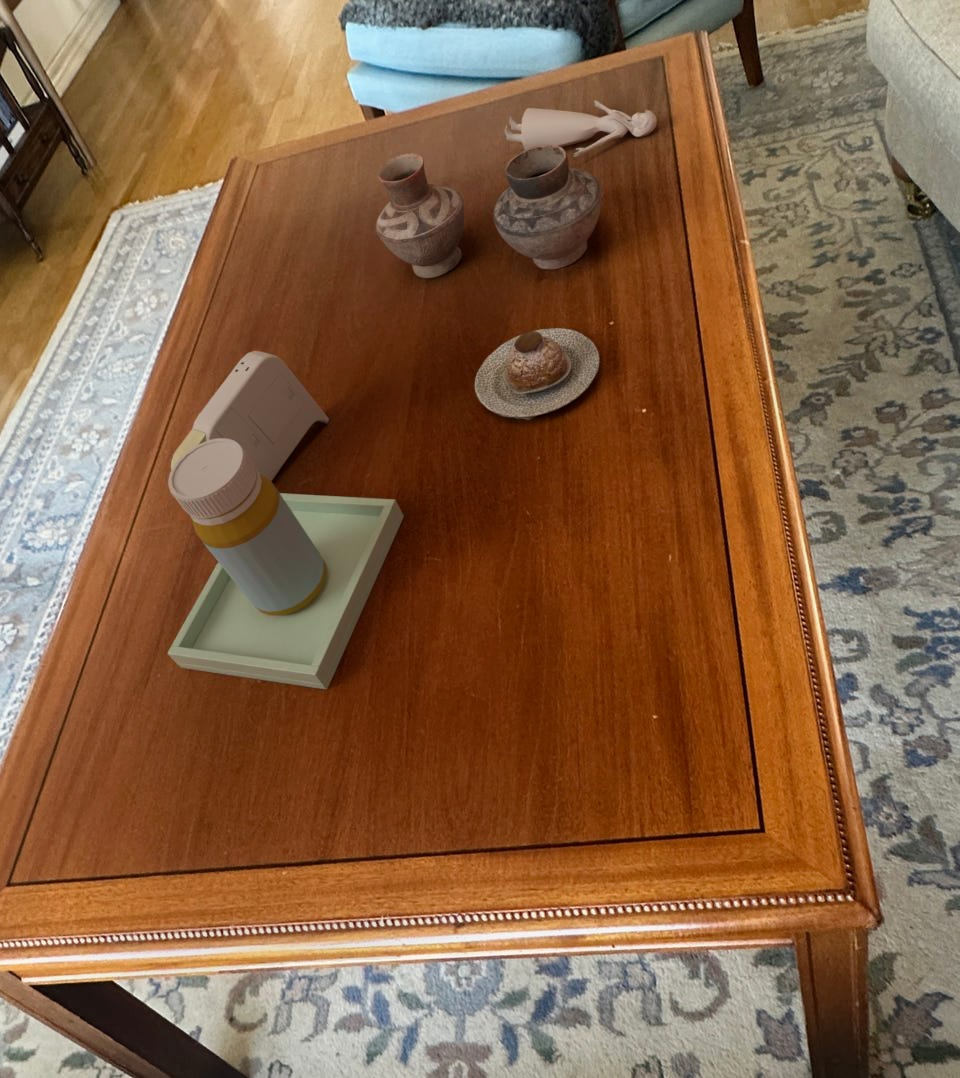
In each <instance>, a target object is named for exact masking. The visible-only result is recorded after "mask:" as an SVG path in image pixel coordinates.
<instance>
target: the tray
mask: <svg viewBox="0 0 960 1078" xmlns="http://www.w3.org/2000/svg"><path fill="white" fill-rule="evenodd" d="M279 493H280V494H281V496H282V497H283V499H284V500H285V502H286V503H287V505H288V506H289V508H290V509H291V511H292V512H293V514H294V515H295V517H296V518H297V520H298V521H299V523H300V524H301V526H302V527H303V529H304V530H305V532H306V533H307V535H308V536H309V538H310V539H311V541H312V542H313V544H314V545H315V547H316V548H317V550H318V551H319V553H320V555H321V556H322V558H323V560H324V562H325V564H326V572H327V573H326V578H325V581H324V584H323V586H322V588H321V590H320V592H319V593H318V595H317V596H316V598H315V599H314V600H313V601H311V602H310V603H309V604H308V605H307V606H305V607H304V608H302V609H301V610H299V611H297V612H293V613H290V614H287V615H275V616H272V615H268V614H264V613H262V612H260V611H259V610H258V609H256V608H255V606H254V605H253V604H252V603H251V602H250V601H249V600H248V598H247V597H246V596H245V595H244V593H243V592H242V591H241V590H240V588H239V587H238V586H237V585H236V583H235V582H234V581H233V580H232V578H231V577H230V576H229V575H228V573H227V572H226V571H225V570H224V568H223V567H222V566H221V565H220V563H219V562H218V561H217V563H216V565H215V567H214V569H213V570H212V572H211V574H210V576H209V578H208V579H207V581H206V583H205V585H204V586H203V588H202V590H201V592H200V594H199V595H198V597H197V599H196V601H195V603H194V604H193V606H192V608H191V610H190V611H189V613H188V615H187V617H186V618H185V621H184V623H183V624H182V626H181V628H180V629H179V631H178V633H177V635H176V637H175V638H174V641H173V642H172V644H171V646H170V648H169V649H168V651H167V654H166V655H168V656H169V657H170V658H171V660H173V661H174V662H175V663H176V664H177V665H178V666H179V668H181V669H187V670H193V671H200V672H207V673H213V674H214V673H215V674H220V675H227V676H234V677H241V678H247V679H252V680H253V679H254V680H260V681H266V682H272V683H273V682H274V683H280V684H287V685H294V686H299V687H300V686H301V687H306V688H313V689H320V690H329V689H328V688H329V687H330V684H331V682H332V680H333V677H334V675H335V673H336V671H337V668H338V666H339V664H340V661H341V660H342V658H343V655H344V653H345V651H346V649H347V646H348V643H349V642H350V639H351V637H352V634H353V632H354V630H355V628H356V625H357V623H358V621H359V619H360V617H361V615H362V612H363V610H364V607H365V605H366V603H367V600H368V598H369V596H370V594H371V591H372V590H373V587H374V585H375V583H376V581H377V579H378V575H379V574H380V571H381V569H382V566H383V565H384V562H385V561H386V558H387V556H388V553H389V551H390V548H391V547H392V545H393V542H394V540H395V537H396V536H397V533H398V531H399V530H400V526H401V524H402V522H403V519H404V517H405V516H404V514H403V512H402V509H401V508H400V505H399V504H398V502H397V500H396V499H394V498H393V499H391V498H373V497H359V496H357V497H356V496H338V495H337V496H335V495H319V494H318V495H317V494H302V493H301V494H300V493H283V492H279Z"/></svg>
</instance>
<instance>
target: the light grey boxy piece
mask: <svg viewBox="0 0 960 1078" xmlns="http://www.w3.org/2000/svg"><path fill="white" fill-rule="evenodd" d="M316 422H319V423H323V424H328V423H329V422H330V418H329V417H328V416H327V414H326V413H325V412H324V411H323V409H322V408H321V407H320V406H319V404H318V403H317V402H316V400H315V399H314V398H313V397H312V396H311V394H310V393H309V392H308V391H307V389H306V388H305V387H304V386H303V384H302V383H301V382H300V381H299V379H298V378H297V377H296V375H295V374H294V373H293V372H292V371H291V369H290V368H289V366H288V365H287V364H286V363H285V362H284V361H283V359H282V358H280V357H279V356H278V355H275V354H271V353H268V352H264V351H259V350H252V351H250V352H247V353H246V354H244V356H243V357H241V358H240V360H239V361H238V362H237V364H236V365H235V366H234V368H233V369H232V370H231V372H230V373H229V374H228V376H227V377H226V378H225V379H224V381H223V383H221V385H220V386H219V387H218V389H217V390H216V391H215V393H214V394H213V395H212V396H211V398H210V399H209V401H208V402H207V403H206V404H205V406H204V407H203V408H202V410H201V411H200V413H199V414H198V415H197V417H196V418H195V420H194V422H193V425H192V428H191V430H190V431H189V433H188V434H187V435H186V436H185V438H184V439H183V441H182V442H181V443H180V444H179V446H178V447H177V448H176V449H175V451H174V453H173V455H172V458H171V462H170V471H171V470H172V468H173V467H174V465H175V464H176V462H177V461H178V460H179V459H180V458H181V457H182V456H183V455H184V454H185V453H186V452H188V451H189V450H190V449H192V448H193V447H195V446H197V445H199V444H201V443H203V442H206V441H209V440H213V439H219V438H226V439H231V440H233V441H235V442H237V443H238V444H239V445H241V447H242V448H243V449H244V451H245V452H246V454H247V455H248V457H249V458H250V460H251V461H252V463H253V464H254V467H255V468H256V469H257V470H258V472H259V473H260V474H261V475H263V476H264V477H266V478H267V479H269V480H270V481H271V482H273V480H274V479H275V477H276V476H277V474H278V473H279V471H280V470H281V468H282V467H283V466H284V465H285V463H286V461H287V460H288V458H289V457H290V456H291V455H292V453H293V452H294V450H295V449H296V448H297V446H298V445H299V443H300V442H301V440H302V439H303V438H304V436H305V435H306V433H308V431H309V430H310V428H311V427H312V426H313V424H314V423H316Z"/></svg>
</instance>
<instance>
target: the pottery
mask: <svg viewBox="0 0 960 1078" xmlns="http://www.w3.org/2000/svg"><path fill="white" fill-rule="evenodd" d="M504 172H505V175H506V177H507V178H506V179H507V181H508V184H509V186H508V188H506V189H505V190H504V191H503V192H502V193H501V195H500V196H499V197H498V199H497V201H496V202H495V204H494V207H493V209H492V220H493V223H494V225H495V228H496V230H497V231H498V233H499V235H500V237H501V238H502V239H503V240H504V242H506V244H507V245H509V246H510V247H511V248H512V249H513V250H514V251H516V252H517V253H519V254H521V255H523V256H525V257H527V258H530V259H532V260H533V264H535V266H536V267H538V268H539V269H542V270H559V269H562V268H565V267H567V266H571V264H573V263H575V262H577V261H578V260H579V259H580V258H581V257H582V256H583V255H584V253H586V250H587V248H588V239H589V238H590V236H591V235H592V234H593V232H594V230H595V228H596V225H597V223H598V221H599V218H600V213H601V210H602V209H601V208H602V190H601V184H600V181H599V180H598V178H597V177H596V176H595V175H593V174H592V173H591V172H589V171H586V170H583V169H580V168H575V167H570V165H569V158H568V156H567V152H566V150H565V149H564V147H562V148H561V147H560V146H557V145H542V146H537V147H533V148H530V149H527V150H523V151H521V152H520V153H518V154H516V155H515V156H514V157H512V158H511V159H510V160H509V161H508V162H507V164H506V165H505V167H504ZM377 177H378V179H379V181H380V183H381V184H382V185H383V186H384V188H385V190H386V192H387V193H388V195H389V197H390V200H389V201H388V202H387V204H386V205H385V206H384V207H383V209H382V210H381V212H380V213H379V215H378V216H377V220H376V222H375V232H376V234H377V236H378V237H379V239H380V240H381V242H382V244H384V245H385V246H386V247H387V249H388V250H389V251H390V252H391V253H392V254H393V255H394V256H395V257H397V258H398V259H399V260H401V261H402V262H405V263H407V264H409V265H411V267H412V271H413V273H414V274H415V275H416V276H417V277H419V278H422V279H432V278H437V277H441V276H442V275H444V274H447V273H449V272H450V271H451V270H453V269H454V268H455V267H456V266H457V265H458V264H459V262H460V261H461V259H462V250H461V249H460V247H459V244H460V242H461V239H462V237H463V232H464V226H465V207H464V199H463V197H462V194H460V192H459V191H457V190H456V189H454V188H452V187H450V186H447V185H442V184H435V183H428V179H427V175H426V170H425V160H424V157H423V156H422V155H421V154H418V153H414V152H413V153H411V152H410V153H404V154H400V155H397V156H394V157H392V158H390V159H389V160H387V161H386V162H385V163H383V164H382V165H381V166H380V167H379V170H378V172H377Z"/></svg>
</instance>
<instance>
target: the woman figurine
mask: <svg viewBox="0 0 960 1078" xmlns="http://www.w3.org/2000/svg"><path fill="white" fill-rule="evenodd" d="M593 103H594V106H595V107H597V108H598V109H599V110H602V111H604V112H605V113H606V115H604V116H601V117H599V116H596V115H593V114H589V113H584V112H578V111H577V112H576V111H568V110H561V109H552V108H551V109H550V108H549V109H548V108H535V107H527V108H526V109H525V111H524V112H523V115H522V118H521V123H517V122H516V121H515V120H514V119H513V116H510V117H509V120H508V122H509V125H510V126H511V127H510V129H509V128H508V125H506V126H505V128H504V135H505V136H506V137H505V139H506V141H508V142H515V143H516V142H517V143H522V147H523V151H525V150H527V149H530V148H533V147H537V146H542V145H557V146H560V147H561V148H565V147H568V146H572V145H574V144H578V143H581V142H585V141H587V140H589V139H592V138H593V137H594V136H596V135H597V133H600V132H605V133H608V135H604V136H603V137H601V138H600V139H599V140H597V141H596V142H594V143H592V144H590V145H588V146H586V147H577V148H575V150H576V152H574V153H573V158H580V157H582V156H583V155H584V154H586V153H588V152H589V151H591V150H594V149H595V148H598V147H601V146H602V145H603V144H606V143H608V142H610V141H612V140H615V139H618V138H620V139H621V138H623V137H625V135H626V134H627V133H628V132H630V133H631V134H632V135H633V136H634V137H645V136H648V135H649V134H651V133H652V132H653V131H654V130H655V129H656V127H657V117H656V115H655V114H654V112H653V111H651V109H645V111H644V112H636V113H634V114H633V115H632V116H631V115H628V114H626V113H625V112H623V111H620V110H616V109H614V108H613V109H610V108H609V107H607V106H605V105H603V104H602V103H601V102H600V101H598V100H594V101H593ZM512 131H518V132H519V131H520V132H521V133H513V132H512Z"/></svg>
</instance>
